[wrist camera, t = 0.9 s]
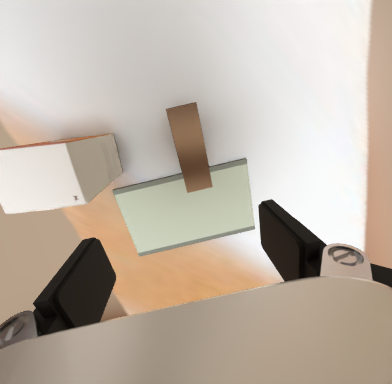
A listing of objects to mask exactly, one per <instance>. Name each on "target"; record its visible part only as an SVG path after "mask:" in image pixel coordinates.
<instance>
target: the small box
mask: <svg viewBox="0 0 392 384" xmlns="http://www.w3.org/2000/svg"><path fill="white" fill-rule="evenodd" d="M122 172H123V171H122V167H121V163H120V159H119V155H118V151H117V147H116V143H115V139H114V135H113V134H105V135H97V136H89V137H81V138H71V139H61V140H55V141H48V142H43V143H35V144H29V145H22V146H15V147H9V148H2V149H0V204H1V205H2V207H3V210H4V212H5V213H6V214H14V213H24V212H32V211H43V210H52V209H58V208H64V207H71V206H78V205H85V204H88V203H89V202H90V201H91V200H92V199H93V198H94V197H95V196H97V195H98V194H99V193H100V192H101V191H102V190H103V189H104V188H106V187H107V186H108V185H109V184H110V183H111V182H112V181H113V180H114V179H116V178H117V177H118V176H119V175H120V174H121V173H122Z"/></svg>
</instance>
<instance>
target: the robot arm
mask: <svg viewBox="0 0 392 384" xmlns="http://www.w3.org/2000/svg"><path fill="white" fill-rule="evenodd" d="M259 221H260V235H261V245H262V247H263V249H264V251H265V252H266V254H267V255H268V257H269V258H270V260H271V261H272V263H273V264H274V266H275V267H276V269H277V270H278V272H279V273H280V275H281V277H282V278H283V280H284V281H285V282H280V283H276V284H271V285H266V286H261V287H256V288H252V289H247V290H242V291H238V292H233V293H228V294H224V295H219V296H214V297H210V298H205V299H201V300H196V301H191V302H187V303H182V304H178V305H173V306H169V307H164V308H160V309H155V310H151V311H146V312H142V313H137V314H133V315H128V316H124V317H120V318H116V319H111V320H106V321H102V322H100V320H101V317H102V315H103V312H104V310H105V307H106V304H107V302H108V299H109V297H110V294H111V291H112V289H113V286H114V284H115V281H116V274H115V272H114V270H113V268H112V266H111V263H110V261H109V259H108V257H107V255H106V253H105V250H104V248H103V246H102V244H101V242H100V240H99V239H96V238H94V237H93V238H89V239H84V240H82V242H81V243H80V244H79V245H78V247H77V248H76V249H75V250H74V252H73V253H72V254H71V256H70V257H69V258H68V260H67V261H66V262H65V263H64V264H63V266H62V267H61V268H60V270H59V271H58V272H57V274H56V275H55V276H54V277H53V278H52V280H51V281H50V282H49V284H48V285H47V286H46V287H45V289H44V290H43V291H42V292H41V294H40V295H39V296H38V298H37V299H36V300H35V301H34V303H33V304H34V306H35V307H36V309H35V310H34V311H33V312H32V311H23V312H20V313H18V314H16V315H14V316H12V317H10V318H9V319H8V320H6V321H5V322H3V323H2V324H1V325H0V384H392V269H390V268H386V267H382V266H378V265H375V264H371V263H370V260H369V258H368V256H367V255H366V254H365V253H364V252H363V251H361V250H359V249H358V248H355V247H353V246H350V245H346V244H339V243H337V244H330V245H326V244H325V243H324V242H323V241H321V240H320V239H319V238H318V237H317V236H316V235H314V234H313V233H312V232H311V231H310V230H308V229H307V228H306V227H305V226H304V225H303V224H301V223H300V222H299V221H298V220H297V219H295V218H293V217H292V216H291V215H290V214H289V213H288V212H286V211H285V210H284V209H283V208H282V207H281V206H279V205H278V204H277V203H276V202H275V201H273V200H272V199H271V200H267V201H262V202H261V204H260V205H259Z"/></svg>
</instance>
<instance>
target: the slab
mask: <svg viewBox="0 0 392 384" xmlns="http://www.w3.org/2000/svg"><path fill="white" fill-rule="evenodd" d="M166 111H167V115H168V119H169V123H170V127H171V131H172V135H173V139H174V143H175V147H176V150H177V154H178V158H179V162H180V166H181V170H182V174H183V178H184V182H185V186H186V190H187V193H190V192H194V191H198V190H203V189H207V188H211V187H213V185H212V180H211V175H210V170H209V165H208V160H207V155H206V150H205V145H204V140H203V135H202V130H201V124H200V119H199V114H198V109H197V104H196V102H194V103H190V104H186V105H182V106H177V107H173V108H169V109H166Z"/></svg>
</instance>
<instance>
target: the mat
mask: <svg viewBox="0 0 392 384" xmlns="http://www.w3.org/2000/svg"><path fill="white" fill-rule="evenodd" d="M209 170H210V175H211V180H212V185H213V187H211V188H207V189H203V190H198V191H194V192H190V193H187V190H186V186H185V182H184V178H183V174H182V173H181V174H177V175H173V176H169V177H164V178H160V179H156V180H152V181H148V182H143V183H139V184H135V185H131V186H126V187H122V188H118V189H114V190H113V194H114V196H115V198H116V201H117V203H118V206H119V208H120V210H121V213H122V215H123V218H124V220H125V223H126V225H127V227H128V230H129V232H130V235H131V237H132V239H133V242H134V244H135V247H136V249H137V252H138V254H139V257H140V256H144V255H148V254H152V253H157V252H161V251H165V250H169V249H173V248H178V247H182V246H186V245H190V244H194V243H199V242H203V241H207V240H211V239H215V238H220V237H224V236H228V235H232V234H237V233H241V232H245V231H249V230H253V229H255V226H254V217H253V209H252V200H251V192H250V184H249V175H248V167H247V159H246V158H245V159H241V160H236V161H232V162H228V163H224V164H219V165H215V166H211V167H209Z"/></svg>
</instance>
